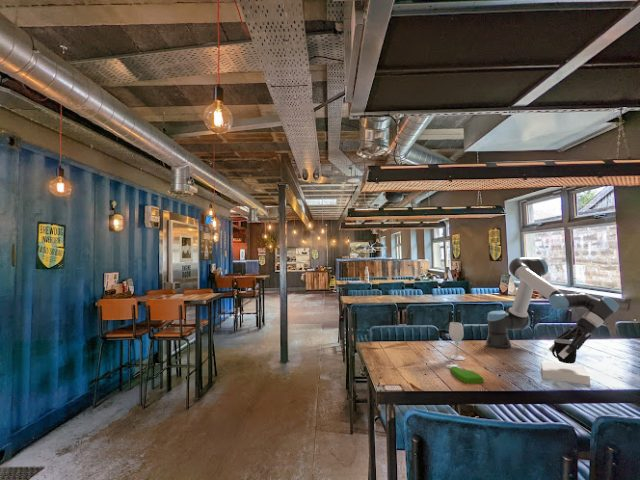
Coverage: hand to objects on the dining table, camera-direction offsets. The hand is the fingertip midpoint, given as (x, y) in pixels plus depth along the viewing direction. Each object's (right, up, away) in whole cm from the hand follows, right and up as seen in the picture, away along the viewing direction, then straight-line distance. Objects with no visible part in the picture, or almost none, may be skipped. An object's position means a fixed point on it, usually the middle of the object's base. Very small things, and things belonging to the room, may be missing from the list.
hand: (555, 353), depth 160 cm
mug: (+3, -4, -1) cm, 5 cm away
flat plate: (+3, -11, -1) cm, 11 cm away
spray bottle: (-46, -13, +4) cm, 48 cm away
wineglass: (-37, -14, +31) cm, 50 cm away
